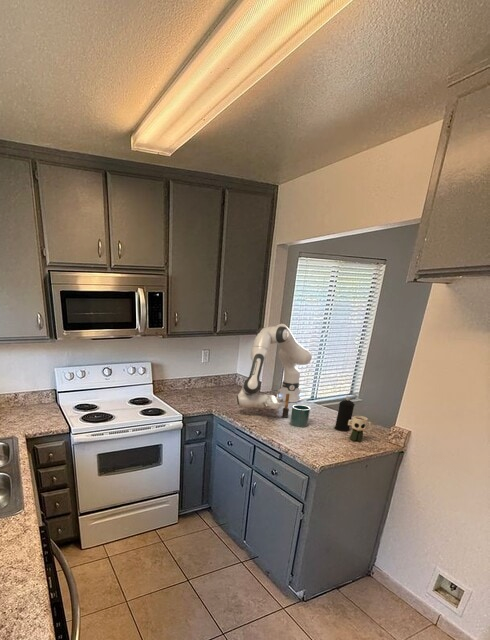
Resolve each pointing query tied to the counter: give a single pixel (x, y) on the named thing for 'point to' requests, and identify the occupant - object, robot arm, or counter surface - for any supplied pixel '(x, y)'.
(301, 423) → the green cup
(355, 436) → the cartoon character figurine
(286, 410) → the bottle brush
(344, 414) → the aerosol can
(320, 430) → the counter surface
